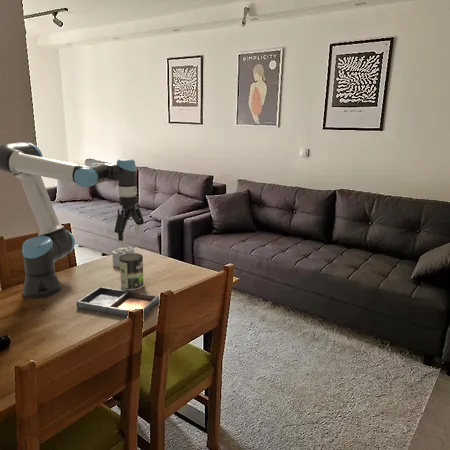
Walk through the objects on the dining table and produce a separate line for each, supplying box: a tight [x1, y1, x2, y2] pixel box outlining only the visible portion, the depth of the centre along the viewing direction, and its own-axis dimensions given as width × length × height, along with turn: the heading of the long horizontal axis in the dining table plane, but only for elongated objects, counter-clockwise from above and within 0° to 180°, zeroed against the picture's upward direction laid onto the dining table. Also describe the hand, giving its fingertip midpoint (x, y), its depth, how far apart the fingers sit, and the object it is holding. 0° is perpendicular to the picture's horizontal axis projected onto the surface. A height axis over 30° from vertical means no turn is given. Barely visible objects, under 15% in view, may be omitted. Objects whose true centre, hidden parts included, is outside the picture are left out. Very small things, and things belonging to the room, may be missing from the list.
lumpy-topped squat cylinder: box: [111, 246, 138, 268], centre depth 201 cm, size 10×13×9 cm
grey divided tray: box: [76, 286, 160, 318], centre depth 157 cm, size 28×16×3 cm, turn 73°
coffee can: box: [119, 252, 145, 291], centre depth 174 cm, size 10×10×14 cm
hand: (130, 242), depth 171 cm, fingers open, 13 cm apart
